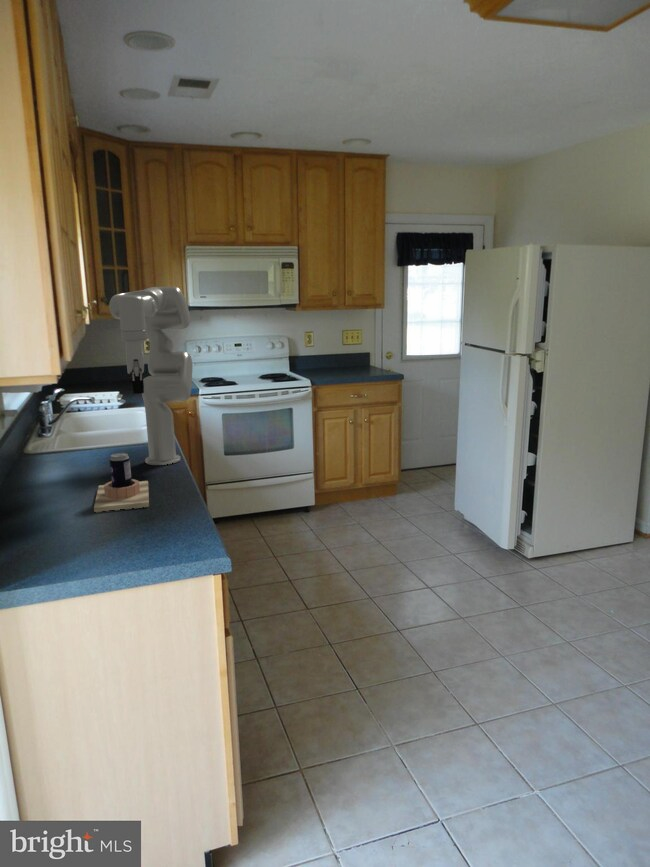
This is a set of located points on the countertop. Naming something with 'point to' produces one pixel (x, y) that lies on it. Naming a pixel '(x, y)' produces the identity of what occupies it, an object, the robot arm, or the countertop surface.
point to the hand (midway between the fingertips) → (138, 391)
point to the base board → (122, 500)
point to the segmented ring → (122, 490)
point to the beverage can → (120, 470)
